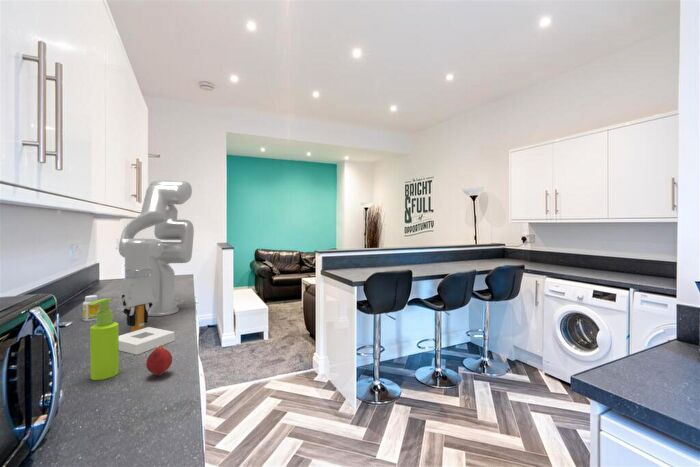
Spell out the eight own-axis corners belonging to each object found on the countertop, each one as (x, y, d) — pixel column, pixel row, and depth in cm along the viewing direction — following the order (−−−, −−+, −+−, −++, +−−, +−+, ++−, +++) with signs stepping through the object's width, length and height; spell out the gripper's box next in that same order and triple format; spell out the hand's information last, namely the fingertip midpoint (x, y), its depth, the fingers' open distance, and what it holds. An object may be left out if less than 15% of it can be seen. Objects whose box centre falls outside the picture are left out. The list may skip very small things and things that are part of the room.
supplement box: (145, 331, 118) (145, 304, 118) (138, 334, 115) (138, 306, 115) (136, 330, 119) (136, 303, 118) (129, 333, 115) (129, 306, 115)
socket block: (148, 335, 114) (148, 326, 114) (174, 340, 109) (174, 331, 109) (109, 348, 102) (109, 338, 102) (136, 354, 97) (136, 344, 97)
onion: (160, 381, 80) (160, 350, 80) (140, 379, 82) (140, 348, 81) (177, 371, 86) (177, 342, 86) (158, 369, 87) (158, 340, 87)
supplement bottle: (79, 321, 129) (79, 297, 129) (88, 317, 134) (88, 294, 134) (94, 321, 130) (94, 297, 130) (102, 317, 135) (102, 294, 135)
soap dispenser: (80, 381, 80) (79, 302, 80) (105, 369, 87) (104, 296, 87) (101, 383, 79) (100, 303, 79) (124, 370, 86) (124, 297, 86)
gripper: (152, 270, 125) (152, 316, 126) (106, 276, 110) (106, 329, 110) (165, 271, 123) (165, 319, 123) (120, 278, 107) (120, 332, 108)
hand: (137, 323), depth 117 cm, fingers closed on supplement box, 4 cm apart
